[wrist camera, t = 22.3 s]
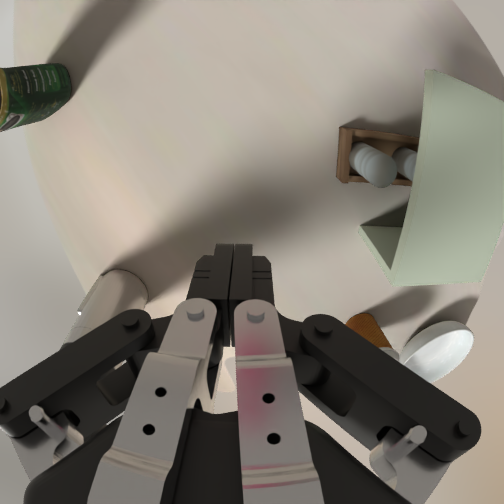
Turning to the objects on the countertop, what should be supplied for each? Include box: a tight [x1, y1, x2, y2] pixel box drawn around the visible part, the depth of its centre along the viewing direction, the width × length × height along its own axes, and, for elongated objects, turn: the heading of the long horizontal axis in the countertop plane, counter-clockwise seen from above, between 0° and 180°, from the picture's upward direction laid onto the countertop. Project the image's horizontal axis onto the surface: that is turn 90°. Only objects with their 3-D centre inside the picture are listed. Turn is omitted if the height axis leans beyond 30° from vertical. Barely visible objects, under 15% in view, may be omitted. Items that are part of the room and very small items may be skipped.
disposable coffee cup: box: [345, 313, 400, 362], centre depth 47 cm, size 10×10×12 cm
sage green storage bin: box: [359, 70, 504, 287], centre depth 30 cm, size 16×24×14 cm, turn 179°
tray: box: [336, 127, 420, 188], centre depth 31 cm, size 19×7×9 cm, turn 91°
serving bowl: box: [399, 321, 474, 383], centre depth 53 cm, size 21×21×7 cm
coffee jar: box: [0, 63, 71, 132], centre depth 21 cm, size 10×8×19 cm
